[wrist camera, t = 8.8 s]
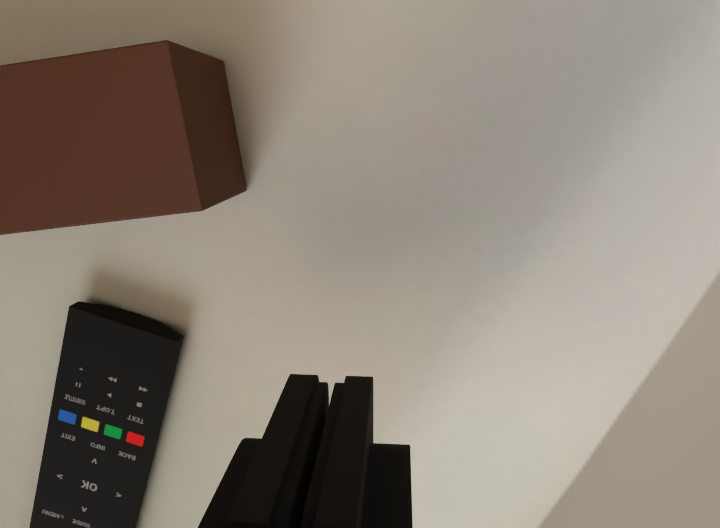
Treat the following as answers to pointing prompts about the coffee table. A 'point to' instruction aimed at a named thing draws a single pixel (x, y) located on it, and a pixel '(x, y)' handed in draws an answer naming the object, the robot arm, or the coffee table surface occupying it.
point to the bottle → (115, 137)
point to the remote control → (104, 418)
